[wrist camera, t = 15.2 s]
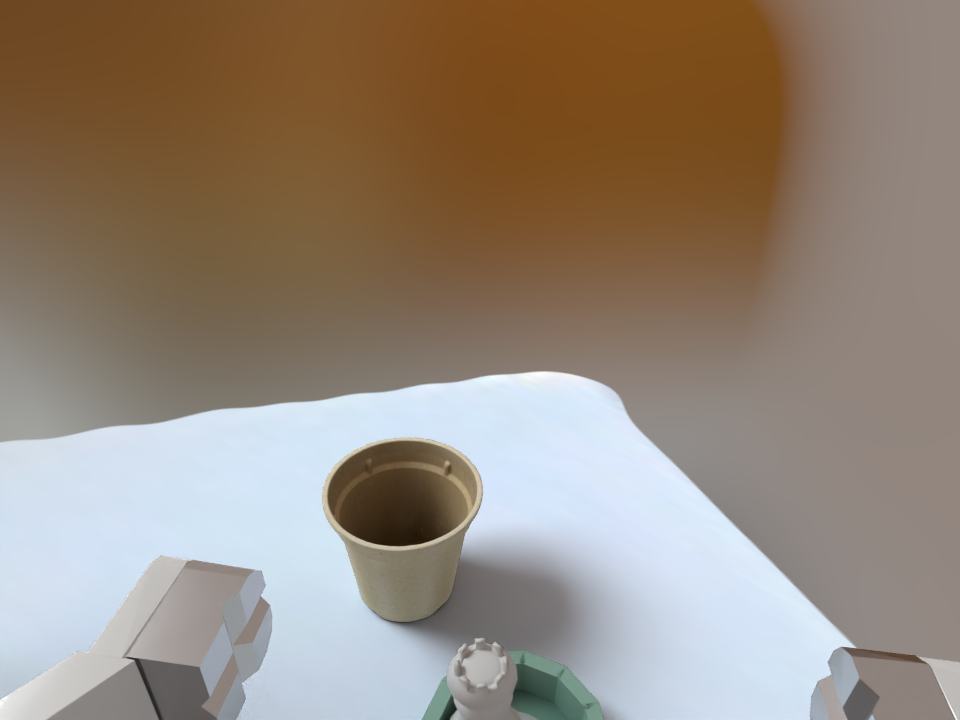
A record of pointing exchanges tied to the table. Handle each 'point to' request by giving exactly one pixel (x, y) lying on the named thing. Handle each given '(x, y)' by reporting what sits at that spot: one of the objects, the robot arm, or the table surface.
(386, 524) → the flower pot
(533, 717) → the bowl
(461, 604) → the table surface
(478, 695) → the rook chess piece
